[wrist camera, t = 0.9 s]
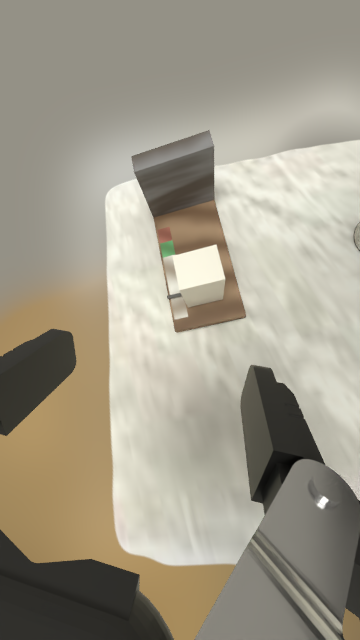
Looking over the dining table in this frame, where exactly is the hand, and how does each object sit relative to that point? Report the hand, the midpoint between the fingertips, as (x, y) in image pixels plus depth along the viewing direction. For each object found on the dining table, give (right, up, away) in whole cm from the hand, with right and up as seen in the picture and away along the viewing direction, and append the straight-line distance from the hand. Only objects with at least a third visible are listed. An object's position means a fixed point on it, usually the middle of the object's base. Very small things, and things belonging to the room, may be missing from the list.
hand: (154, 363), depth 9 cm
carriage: (+3, +8, +27) cm, 28 cm away
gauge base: (+4, +14, +30) cm, 33 cm away
